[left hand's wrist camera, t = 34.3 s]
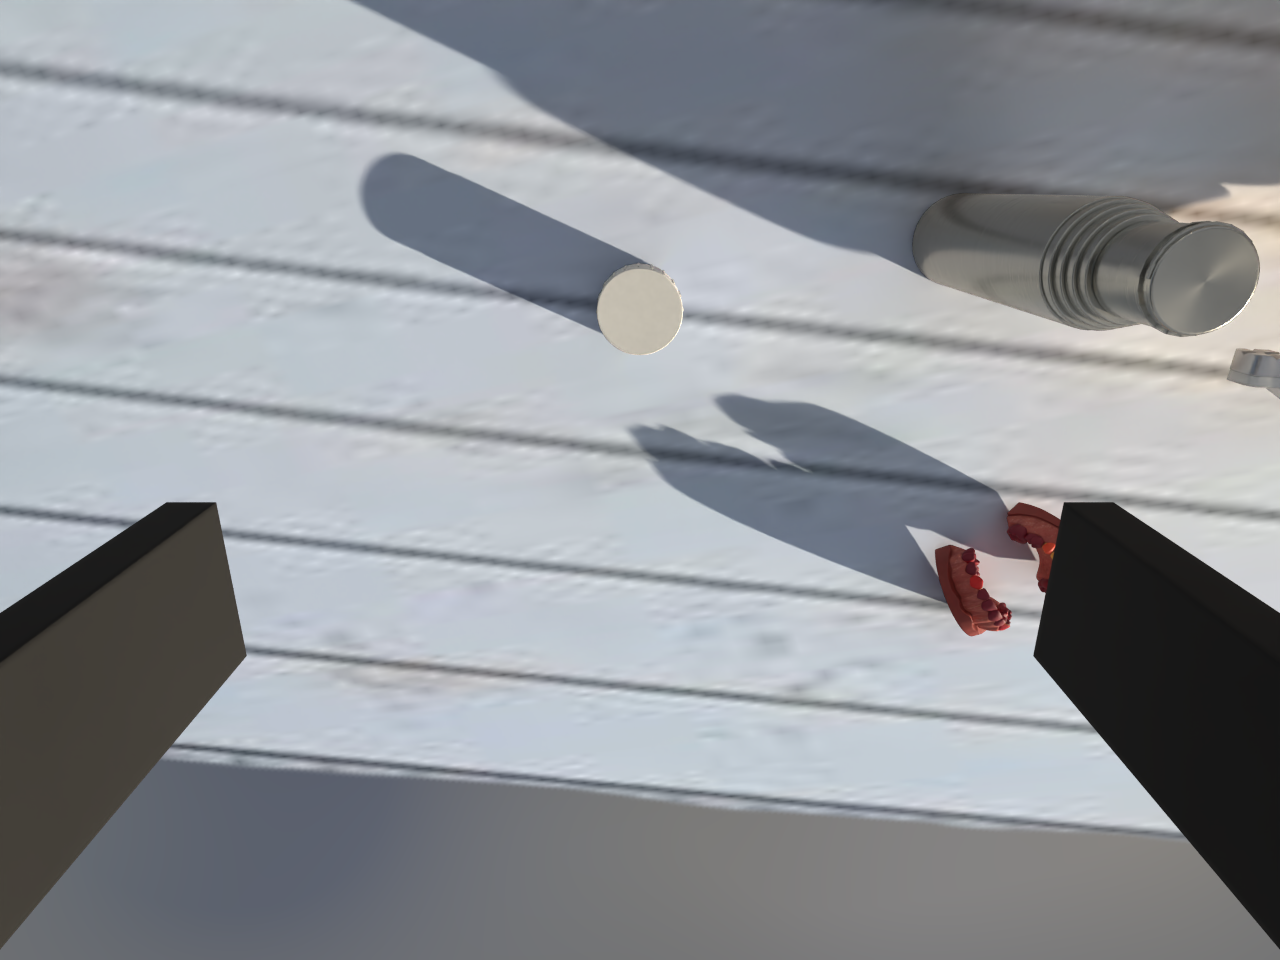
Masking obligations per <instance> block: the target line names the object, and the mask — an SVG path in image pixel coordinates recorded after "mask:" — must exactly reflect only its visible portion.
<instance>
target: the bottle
mask: <svg viewBox="0 0 1280 960" xmlns="http://www.w3.org/2000/svg"><path fill="white" fill-rule="evenodd" d="M912 247H913V256H914V259H915V262H916V264H917V266H918V268H919V270H920V271H921V272H922V273H923V274H924V275H925V276H926V277H927V278H928V279H930V280H931V281H933V282H935V283H938V284H940V285H944V286H947V287H950V288H953V289H956V290H959V291H962V292H965V293H968V294H971V295H975V296H978V297H981V298H984V299H987V300H990V301H993V302H996V303H999V304H1002V305H1006V306H1009V307H1012V308H1015V309H1018V310H1021V311H1024V312H1027V313H1030V314H1033V315H1036V316H1040V317H1043V318H1046V319H1049V320H1052V321H1055V322H1058V323H1061V324H1064V325H1067V326H1071V327H1074V328H1078V329H1083V330H1096V331H1102V330H1111V329H1116V328H1122V327H1127V326H1132V325H1138V324H1144V325H1148V326H1151V327H1153V328H1155V329H1157V330H1159V331H1161V332H1163V333H1165V334H1169V335H1174V336H1179V337H1185V336H1197V335H1200V334H1205V333H1208V332H1211V331H1214V330H1216V329H1218V328H1220V327H1222V326H1224V325H1226V324H1227V323H1229V322H1230V321H1231V320H1233V319H1234V318H1235V317H1236V316H1237V315H1238V314H1239V313H1240V312H1241V311H1242V310H1243V309H1244V308H1245V306H1246V305H1247V304H1248V302H1249V301H1250V299H1251V297H1252V295H1253V293H1254V291H1255V289H1256V286H1257V283H1258V279H1259V272H1260V263H1259V257H1258V254H1257V250H1256V248H1255V246H1254V245H1253V243H1252V240H1251V239H1250V238H1249V237H1248V236H1247V235H1246V234H1245V233H1244V231H1242V230H1241V229H1239V228H1237V227H1235V226H1233V225H1232V224H1228V223H1222V222H1217V221H1216V222H1211V221H1201V222H1192V223H1179V222H1177V221H1176V220H1174V219H1173V218H1171V217H1170V216H1168V215H1167V214H1165V213H1164V212H1162V211H1161V210H1159V209H1158V208H1156V207H1155V206H1153V205H1151V204H1149V203H1147V202H1144V201H1141V200H1138V199H1134V198H1131V197H1124V196H1087V195H1031V194H976V193H959V194H953V195H950V196H947V197H944V198H942V199H940V200H939V201H937V202H936V203H934V204H933V205H932V206H931V207H930V208H929V209H927V211H926V212H925V213H924V214H923V216H922V217H921V219H920V220H919V222H918V224H917V226H916V229H915V232H914V236H913V243H912Z"/></svg>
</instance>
